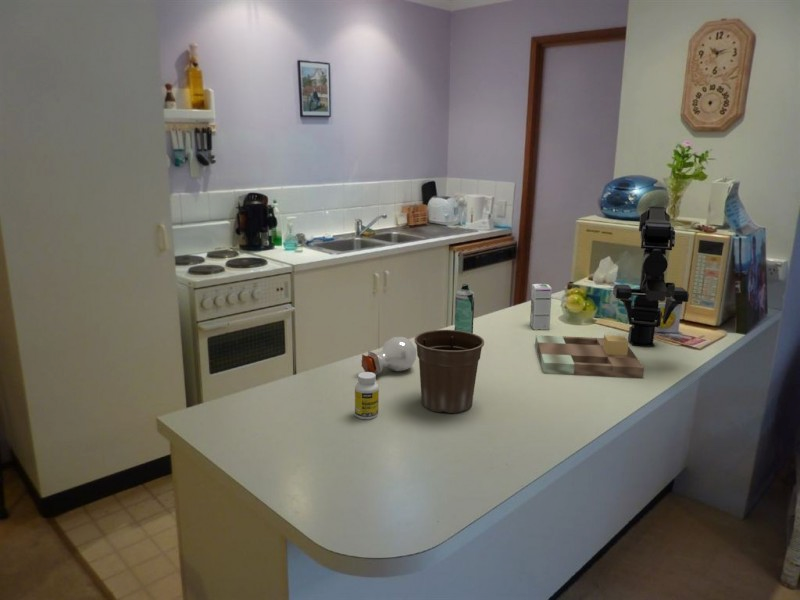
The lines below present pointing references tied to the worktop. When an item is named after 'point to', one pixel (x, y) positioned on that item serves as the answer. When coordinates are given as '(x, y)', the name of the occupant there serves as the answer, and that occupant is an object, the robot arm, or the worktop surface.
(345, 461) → the worktop surface
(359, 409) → the supplement bottle
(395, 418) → the worktop surface
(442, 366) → the plant pot
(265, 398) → the worktop surface
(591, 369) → the trap board
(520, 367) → the worktop surface
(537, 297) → the syrup box
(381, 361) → the potion bottle
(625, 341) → the ochre block
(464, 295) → the spray can
